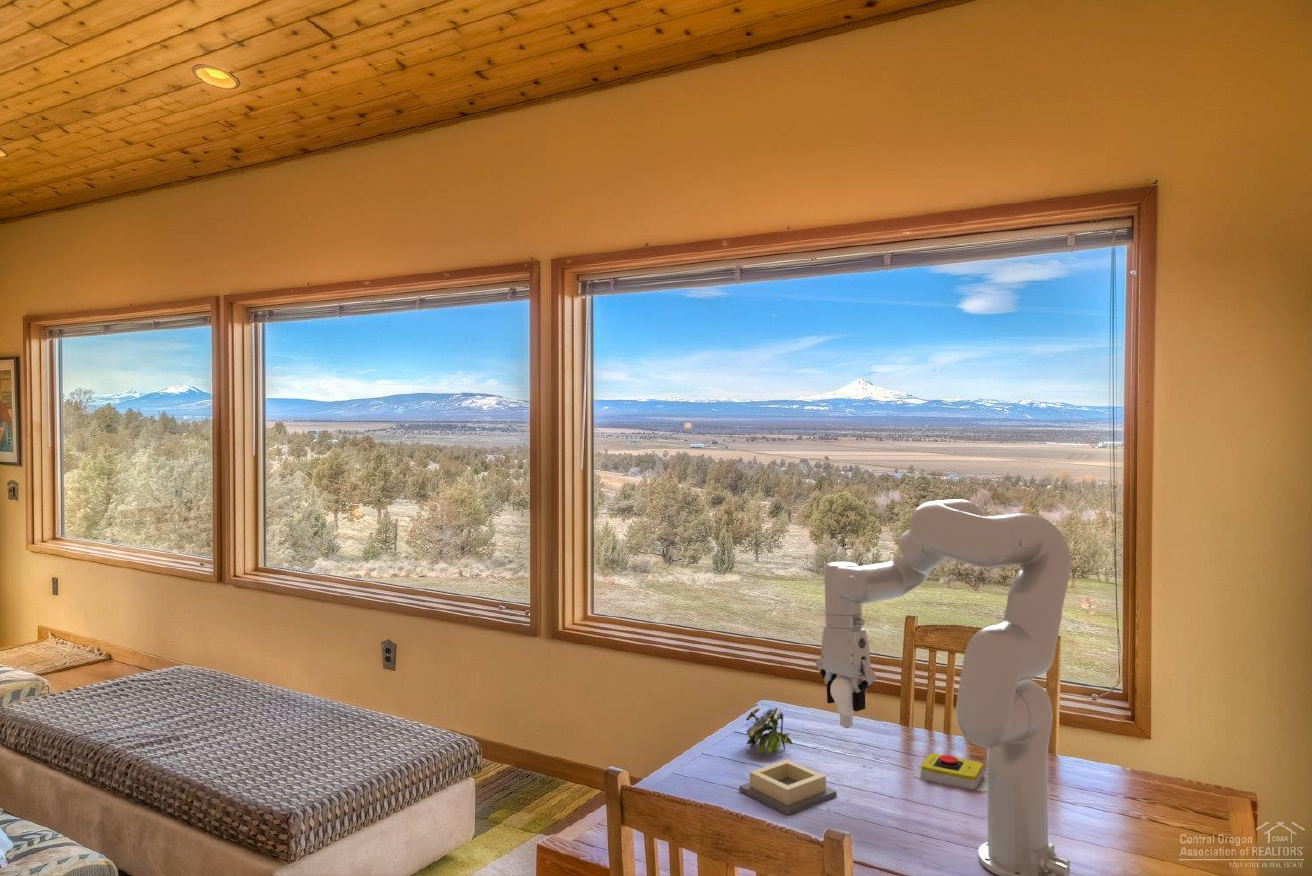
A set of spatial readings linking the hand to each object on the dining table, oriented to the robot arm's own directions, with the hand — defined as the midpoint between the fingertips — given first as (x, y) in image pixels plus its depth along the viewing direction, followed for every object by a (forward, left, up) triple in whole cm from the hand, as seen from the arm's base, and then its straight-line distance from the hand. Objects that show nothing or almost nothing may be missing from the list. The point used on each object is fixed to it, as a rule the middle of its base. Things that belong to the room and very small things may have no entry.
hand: (846, 705), depth 174 cm
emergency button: (-11, -21, -18) cm, 30 cm away
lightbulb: (0, 0, -5) cm, 5 cm away
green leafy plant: (+25, -1, -17) cm, 30 cm away
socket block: (+5, +13, -17) cm, 22 cm away
